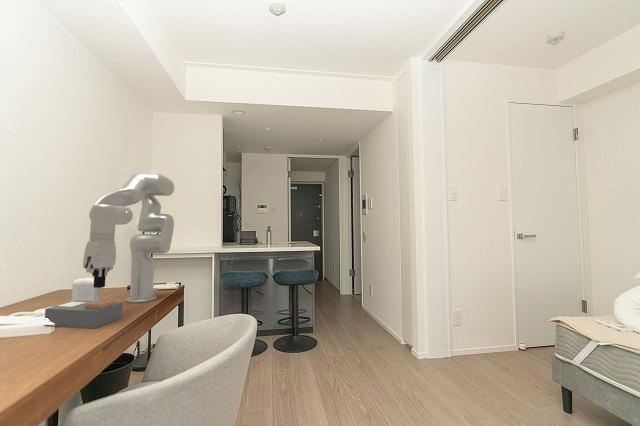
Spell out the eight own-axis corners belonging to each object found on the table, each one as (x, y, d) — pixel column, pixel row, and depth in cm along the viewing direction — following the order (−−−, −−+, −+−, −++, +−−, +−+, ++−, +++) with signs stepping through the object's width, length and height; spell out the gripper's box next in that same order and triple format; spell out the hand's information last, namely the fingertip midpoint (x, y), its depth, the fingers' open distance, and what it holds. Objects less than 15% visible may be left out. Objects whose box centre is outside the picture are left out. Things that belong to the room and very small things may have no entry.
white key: (71, 313, 114) (72, 301, 114) (86, 314, 113) (86, 302, 113) (56, 318, 108) (57, 305, 108) (71, 319, 107) (72, 306, 107)
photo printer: (101, 304, 133) (102, 277, 134) (95, 307, 129) (96, 278, 130) (75, 305, 132) (77, 277, 132) (69, 307, 128) (70, 278, 128)
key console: (75, 315, 117) (76, 300, 117) (121, 318, 115) (122, 302, 115) (44, 325, 105) (45, 308, 105) (95, 328, 103) (96, 311, 103)
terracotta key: (98, 311, 113) (98, 299, 113) (112, 312, 112) (113, 300, 112) (84, 316, 107) (84, 303, 107) (99, 317, 106) (100, 304, 106)
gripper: (109, 237, 118) (106, 283, 117) (74, 237, 104) (71, 290, 102) (126, 237, 118) (123, 284, 116) (94, 237, 103) (91, 291, 102)
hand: (99, 287), depth 109 cm, fingers closed
